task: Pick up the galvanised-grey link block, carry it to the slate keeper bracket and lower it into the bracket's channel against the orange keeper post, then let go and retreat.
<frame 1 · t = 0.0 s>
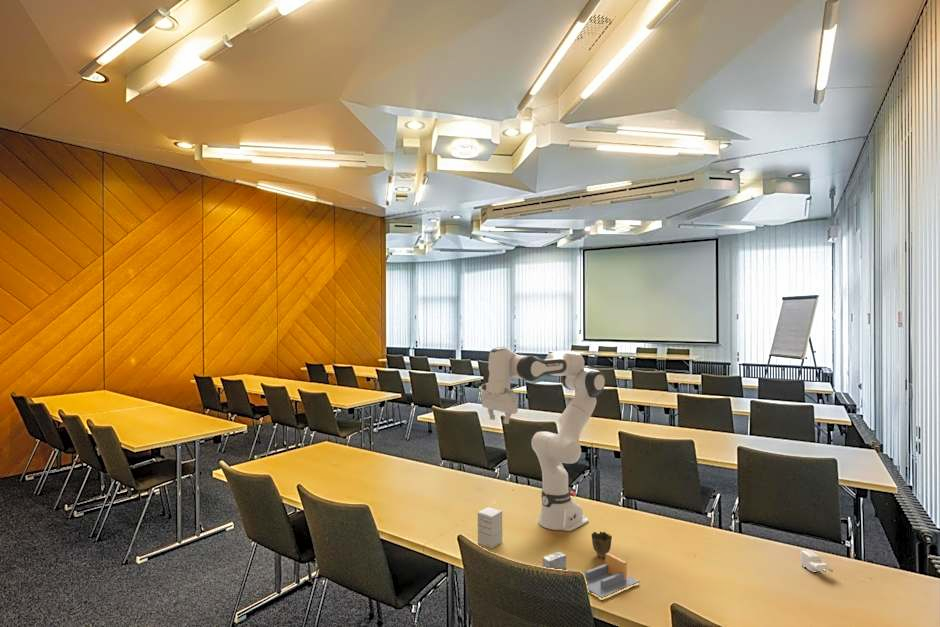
hand: (499, 421, 204), 48 cm above the table, fingers open, 8 cm apart
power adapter: (816, 573, 179), on the table
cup: (601, 556, 190), on the table
keeper: (604, 583, 171), on the table
link block: (554, 570, 180), on the table
supplement box: (489, 543, 201), on the table
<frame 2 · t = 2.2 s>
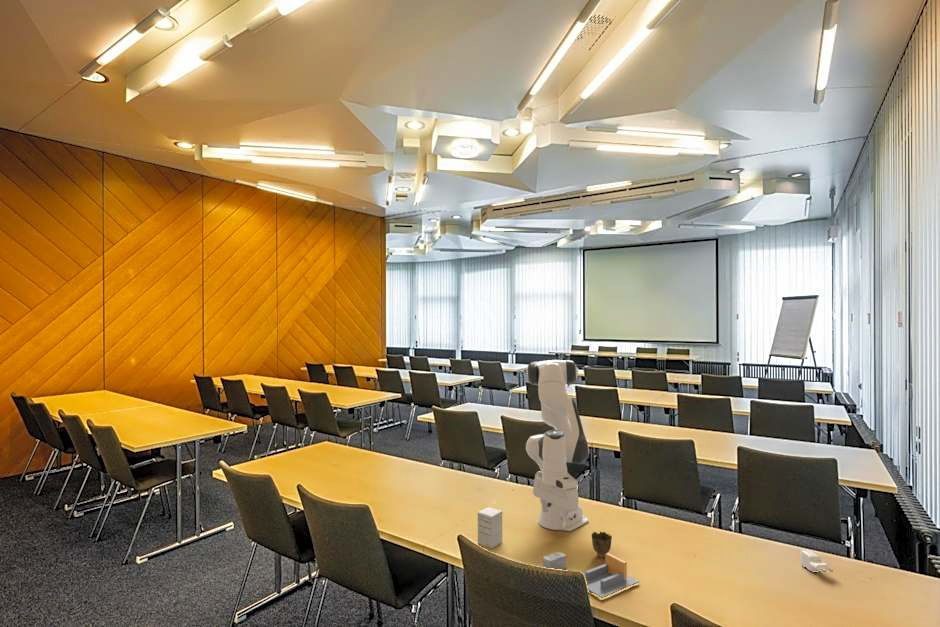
hand: (554, 515, 180), 19 cm above the table, fingers open, 8 cm apart
nothing on the table moved.
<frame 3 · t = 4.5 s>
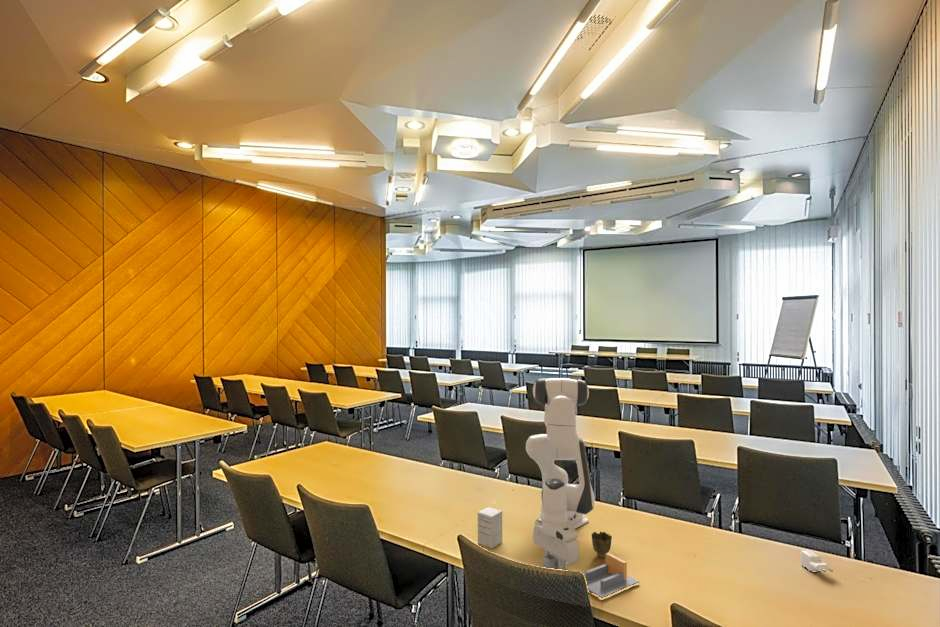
hand: (554, 565, 180), 2 cm above the table, fingers closed on link block, 3 cm apart
link block: (554, 569, 180), on the table, touching gripper
everything else where it was.
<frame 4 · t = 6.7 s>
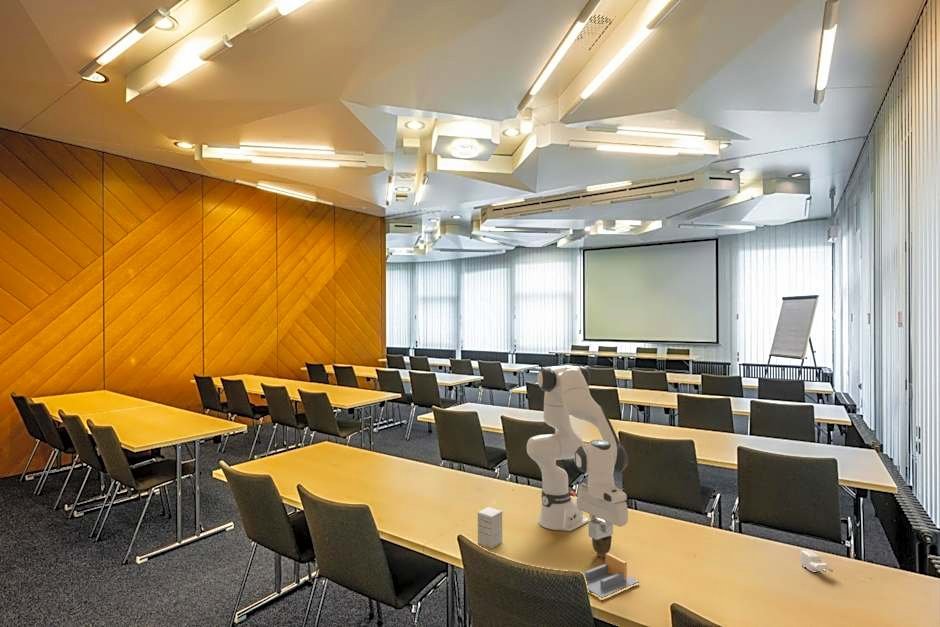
hand: (601, 530, 171), 18 cm above the table, fingers closed on link block, 3 cm apart
link block: (600, 535, 171), point 16 cm above the table, touching gripper
everything else where it was.
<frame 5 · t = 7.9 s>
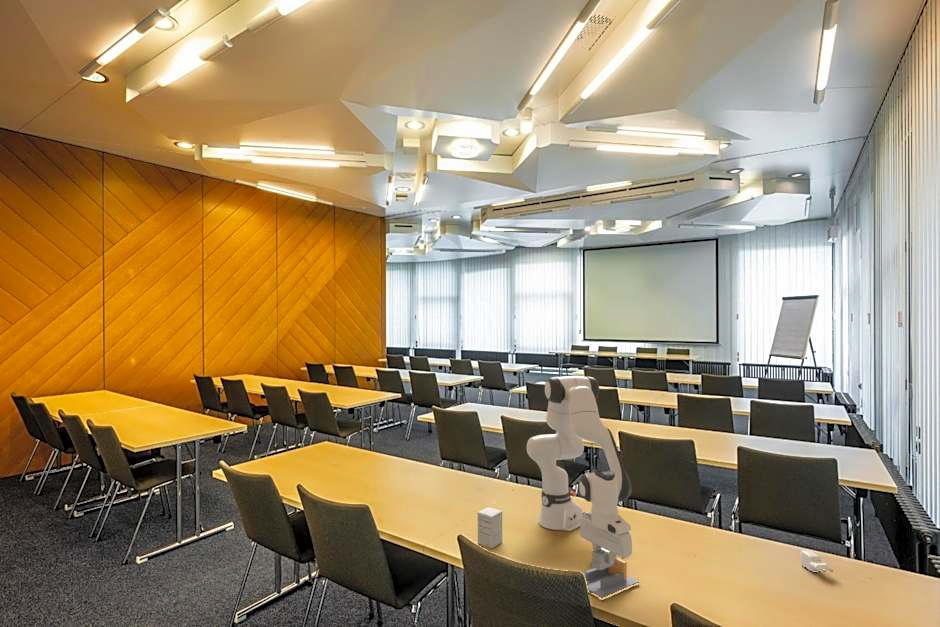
hand: (604, 560, 171), 8 cm above the table, fingers closed on link block, 3 cm apart
link block: (604, 565, 171), point 6 cm above the table, touching gripper
everything else where it was.
when the fingers open (4 cm above the table, at t = 8.9 s): link block drops 1 cm, resting on keeper.
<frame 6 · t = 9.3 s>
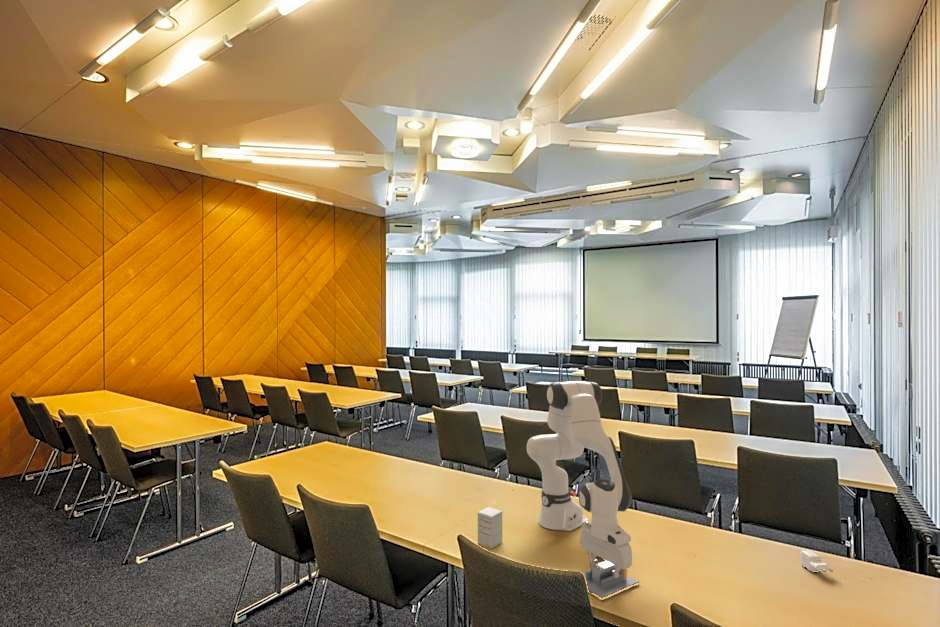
hand: (604, 570, 171), 4 cm above the table, fingers open, 8 cm apart
link block: (604, 579, 171), point 1 cm above the table, touching keeper
everything else where it was.
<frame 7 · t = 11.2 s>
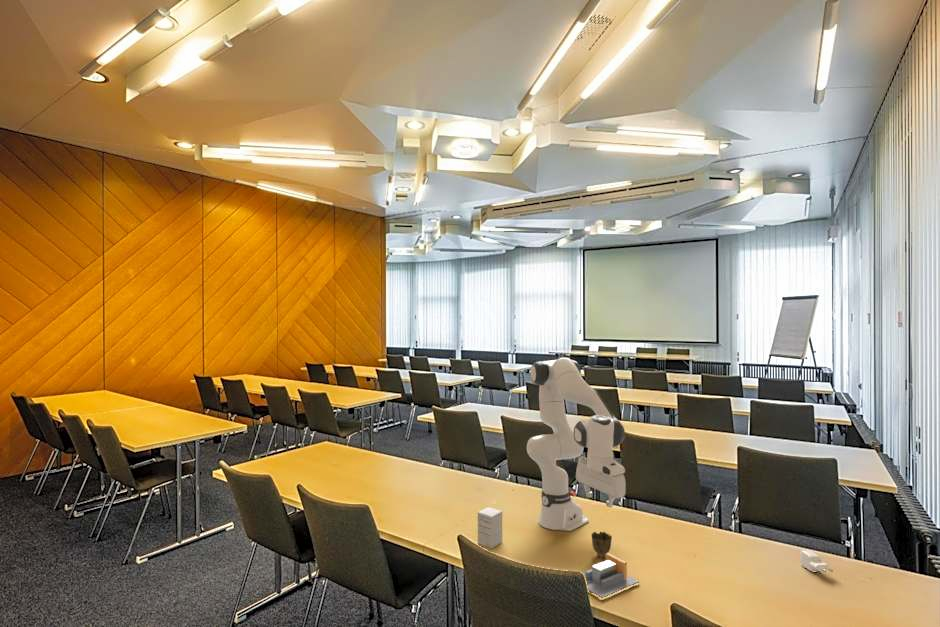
hand: (599, 501, 178), 25 cm above the table, fingers open, 8 cm apart
nothing on the table moved.
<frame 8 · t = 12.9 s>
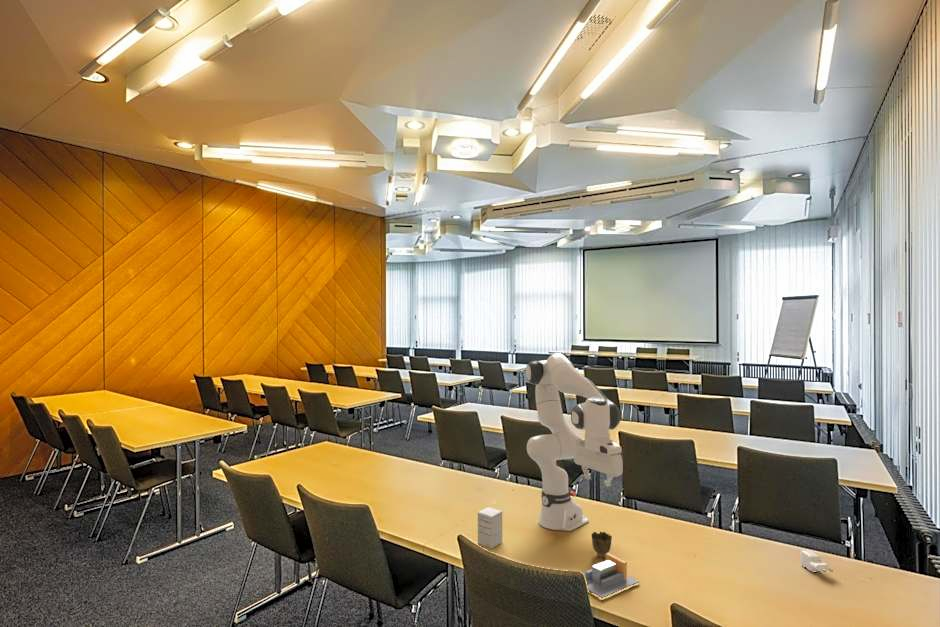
hand: (597, 482, 181), 31 cm above the table, fingers open, 8 cm apart
nothing on the table moved.
at the end: link block inside the target area on the keeper (0.5 cm from its centre), point 1.2 cm above the keeper's base; link block tilted 0°; the gripper is holding nothing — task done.
